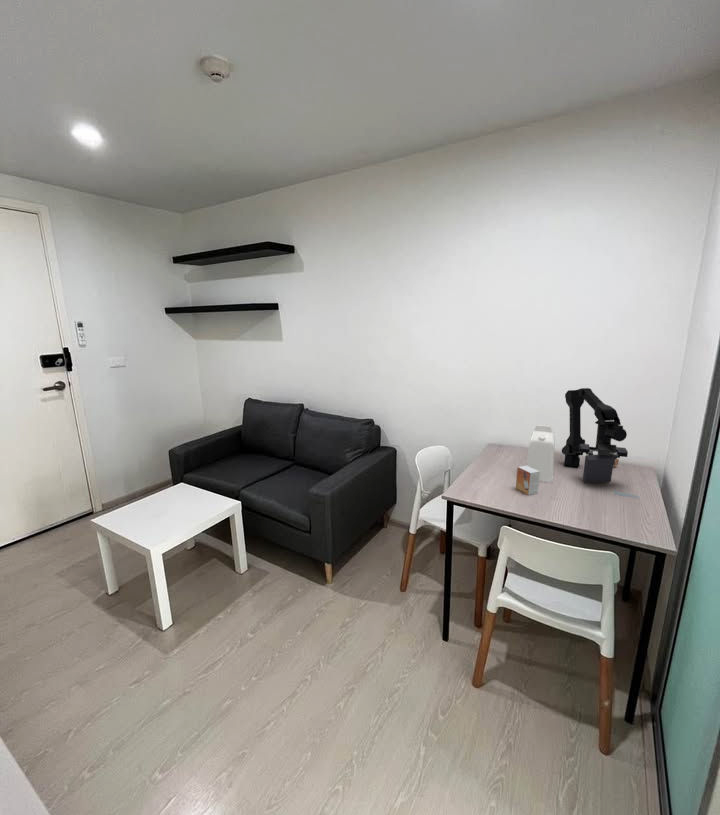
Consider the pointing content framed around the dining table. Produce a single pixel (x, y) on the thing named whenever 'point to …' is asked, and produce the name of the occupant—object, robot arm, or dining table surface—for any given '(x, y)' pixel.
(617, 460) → the bar
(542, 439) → the milk
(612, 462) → the calculator
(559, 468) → the dining table surface
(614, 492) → the mat
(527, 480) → the small box
